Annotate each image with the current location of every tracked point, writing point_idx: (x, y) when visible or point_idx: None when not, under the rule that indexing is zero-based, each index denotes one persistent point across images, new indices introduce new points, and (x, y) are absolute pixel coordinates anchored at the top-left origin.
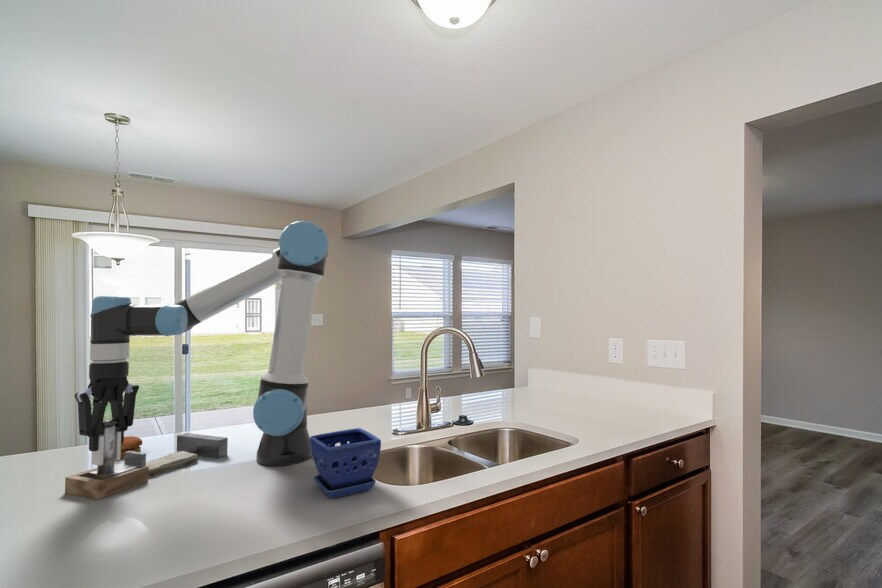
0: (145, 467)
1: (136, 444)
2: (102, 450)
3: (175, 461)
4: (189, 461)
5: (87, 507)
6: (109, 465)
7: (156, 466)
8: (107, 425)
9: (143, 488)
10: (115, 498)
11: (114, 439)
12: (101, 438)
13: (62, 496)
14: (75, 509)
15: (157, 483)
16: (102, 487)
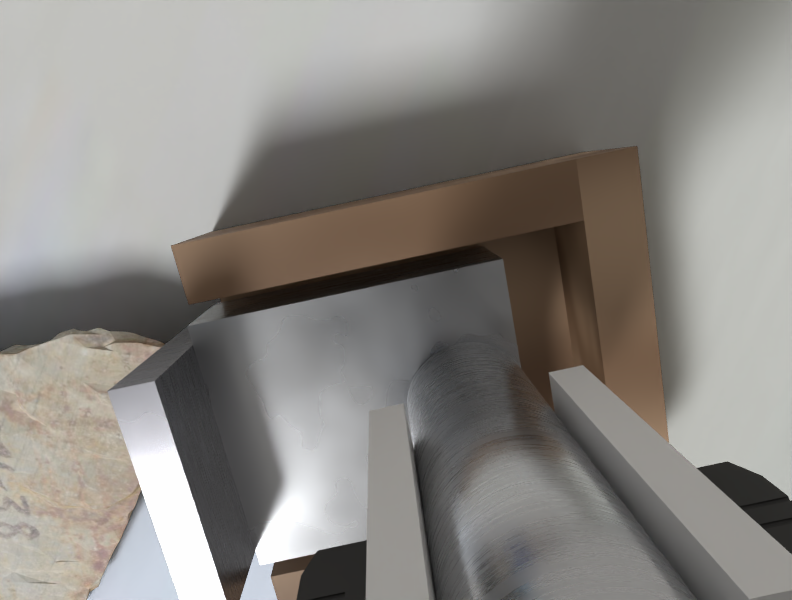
0: (201, 241)
1: None
2: (625, 444)
3: None
4: None
5: (686, 61)
6: (482, 364)
7: (74, 361)
8: None
9: (301, 98)
10: (509, 67)
11: (485, 551)
12: (771, 558)
13: None
14: (738, 96)
15: (187, 114)
16: (584, 155)
